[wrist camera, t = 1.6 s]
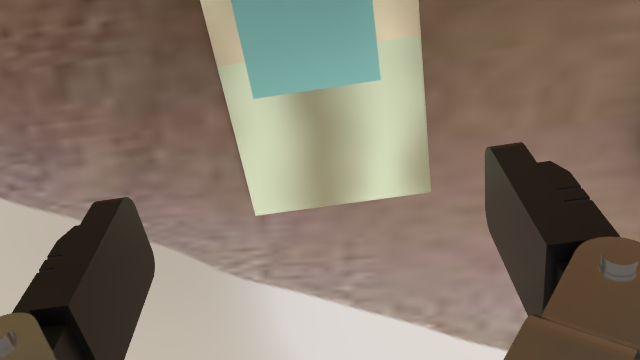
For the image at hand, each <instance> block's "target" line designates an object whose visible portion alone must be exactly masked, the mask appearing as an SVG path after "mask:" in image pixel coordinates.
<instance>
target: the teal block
mask: <svg viewBox="0 0 640 360" xmlns="http://www.w3.org/2000/svg"><path fill="white" fill-rule="evenodd" d="M231 3H232V8H233V12H234V16H235V21H236V25H237V29H238V34H239V38H240V42H241V47H242V51H243V55H244V60H245V64H246V68H247V73H248V77H249V81H250V86H251V90H252V94H253V99H257V98H264V97H270V96H277V95H284V94H291V93H297V92H304V91H311V90H317V89H324V88H331V87H337V86H344V85H351V84H358V83H364V82H371V81H378V80H381V76H380V67H379V58H378V48H377V39H376V29H375V20H374V10H373V1H372V0H231Z"/></svg>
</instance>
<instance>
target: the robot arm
mask: <svg viewBox="0 0 640 360" xmlns="http://www.w3.org/2000/svg"><path fill="white" fill-rule="evenodd" d="M485 210H486V218H487V224H488V228H489V231H490V234H491V236H492V238H493V240H494V243H495V245H496V247H497V249H498V251H499V254H500V256H501V258H502V260H503V262H504V265H505V267H506V269H507V271H508V273H509V276H510V278H511V280H512V282H513V284H514V286H515V289H516V291H517V293H518V295H519V297H520V300H521V302H522V304H523V306H524V308H525V311H526V313H527V315H528V317H527V319H526V320H525V322H524V323H523V325H522V327H521V329H520V331H519V332H518V334H517V336H516V338H515V340H514V342H513V343H512V345H511V347H510V349H509V351H508V353H507V355H506V356H505V358H504V360H640V242H638V241H635V240H631V239H627V238H622V237H620V236H619V234H618V233H617V232H616V231H615V229H614V228H613V227H612V225H611V224H610V223H609V222H608V220H607V219H606V218H605V216H604V215H603V214H602V213H601V211H600V210H599V209H598V207H597V206H596V205H595V204H594V202H593V201H592V200H590V197H589V196H588V195H587V193H586V192H585V191H584V190H583V189H581V186H580V184H579V183H578V182H577V181H576V179H575V178H574V177H573V175H572V174H571V173H570V172H569V171H567V170H566V169H564V168H562V167H560V166H558V165H557V164H555V163H553V162H551V161H546V162H539V163H537V162H536V160H535V159H534V158H533V156H532V155H531V153H530V152H529V150H528V149H527V148H526V146H525V145H524V144H523V143H522V142H520V143H513V144H506V145H499V146H492V147H487V148H486V152H485ZM154 270H155V262H154V255H153V251H152V248H151V246H150V243H149V241H148V238H147V235H146V233H145V230H144V228H143V225H142V222H141V220H140V217H139V215H138V212H137V209H136V207H135V204H134V203H133V201H132V200H131V199H130V198H128V197H124V198H117V199H110V200H103V201H96V202H94V203H93V204H92V206H91V207H90V209H89V211H88V212H87V214H86V216H85V217H84V219H83V221H82V222H81V224H80V225H78V226H74V227H73V228H72V229H71V230H70V231H68V232H67V233H66V234H65V235H64V236H62V237H61V238H60V239H59V240H58V241H57V242H56V244H55V245H54V247H53V248H52V250H51V252H50V253H49V255H48V260H45V261H44V263H43V264H42V266H41V268H40V269H39V273H37V274H36V276H35V277H34V279H33V280H32V282H31V283H30V285H29V287H28V288H27V290H26V291H25V293H24V295H23V296H22V298H21V300H20V301H19V303H18V304H17V306H16V307H15V309H14V310H13V312H12V313H11V314H7V315H3V316H1V317H0V360H124V359H125V356H126V353H127V350H128V347H129V344H130V342H131V339H132V336H133V333H134V331H135V328H136V325H137V322H138V319H139V317H140V314H141V311H142V308H143V305H144V303H145V300H146V297H147V294H148V291H149V288H150V286H151V283H152V280H153V277H154V272H155V271H154Z"/></svg>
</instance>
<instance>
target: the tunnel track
mask: <svg viewBox="0 0 640 360" xmlns="http://www.w3.org/2000/svg"><path fill="white" fill-rule="evenodd" d="M372 1H373V10H374V20H375V29H376V39H377V48H378V58H379V67H380V76H381V80H378V81H371V82H364V83H358V84H351V85H344V86H337V87H331V88H324V89H317V90H311V91H304V92H297V93H291V94H284V95H277V96H270V97H264V98H257V99H253V94H252V90H251V86H250V81H249V77H248V73H247V68H246V64H245V60H244V55H243V51H242V47H241V42H240V38H239V34H238V29H237V25H236V21H235V16H234V12H233V8H232V3H231V0H200V2H201V6H202V9H203V13H204V17H205V21H206V25H207V29H208V33H209V37H210V40H211V44H212V48H213V52H214V56H215V60H216V64H217V68H218V72H219V75H220V79H221V83H222V87H223V91H224V95H225V99H226V103H227V106H228V110H229V114H230V118H231V122H232V126H233V130H234V134H235V138H236V141H237V145H238V149H239V153H240V157H241V161H242V165H243V169H244V172H245V176H246V180H247V184H248V188H249V192H250V196H251V200H252V203H253V207H254V211H255V215H256V216H257V215H264V214H271V213H279V212H286V211H294V210H301V209H309V208H316V207H324V206H331V205H338V204H346V203H353V202H361V201H368V200H376V199H383V198H390V197H398V196H405V195H413V194H420V193H428V192H431V187H430V171H429V156H428V140H427V125H426V109H425V94H424V78H423V63H422V47H421V32H420V17H419V1H418V0H372Z"/></svg>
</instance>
